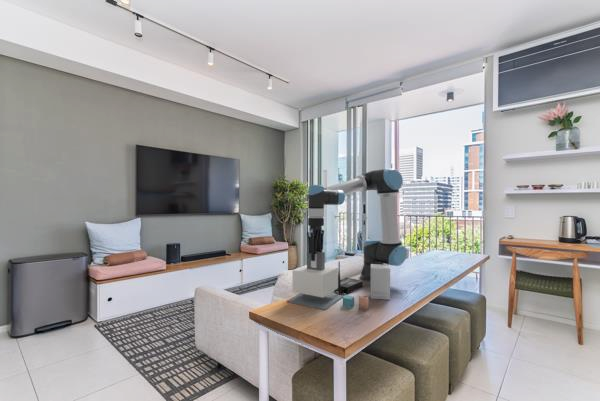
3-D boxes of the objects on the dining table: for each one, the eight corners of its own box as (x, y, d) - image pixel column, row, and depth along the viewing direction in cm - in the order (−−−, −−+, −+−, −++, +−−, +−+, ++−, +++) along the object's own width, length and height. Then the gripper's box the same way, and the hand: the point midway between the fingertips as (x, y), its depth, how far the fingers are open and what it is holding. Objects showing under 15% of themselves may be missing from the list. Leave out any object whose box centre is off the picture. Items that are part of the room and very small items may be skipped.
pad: (307, 290, 153) (307, 289, 153) (343, 296, 143) (343, 295, 143) (286, 301, 136) (286, 300, 136) (325, 310, 126) (325, 308, 126)
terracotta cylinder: (360, 306, 130) (360, 295, 130) (369, 308, 128) (369, 297, 128) (357, 309, 127) (357, 298, 127) (366, 311, 125) (366, 299, 125)
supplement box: (390, 300, 138) (390, 268, 138) (370, 298, 140) (371, 267, 140) (388, 294, 147) (388, 264, 147) (370, 293, 149) (370, 263, 149)
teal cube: (346, 303, 134) (346, 295, 134) (354, 305, 132) (354, 296, 132) (342, 306, 130) (342, 297, 130) (351, 308, 128) (351, 299, 128)
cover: (309, 283, 150) (309, 248, 150) (337, 288, 142) (338, 251, 142) (292, 291, 137) (292, 253, 137) (323, 297, 128) (323, 256, 128)
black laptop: (343, 283, 167) (344, 253, 167) (366, 288, 158) (366, 256, 158) (322, 292, 152) (322, 258, 152) (345, 298, 143) (345, 262, 143)
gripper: (316, 216, 148) (316, 262, 148) (300, 218, 134) (300, 269, 134) (330, 216, 144) (330, 264, 144) (314, 218, 130) (314, 271, 130)
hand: (315, 266), depth 139 cm, fingers closed on cover, 3 cm apart
